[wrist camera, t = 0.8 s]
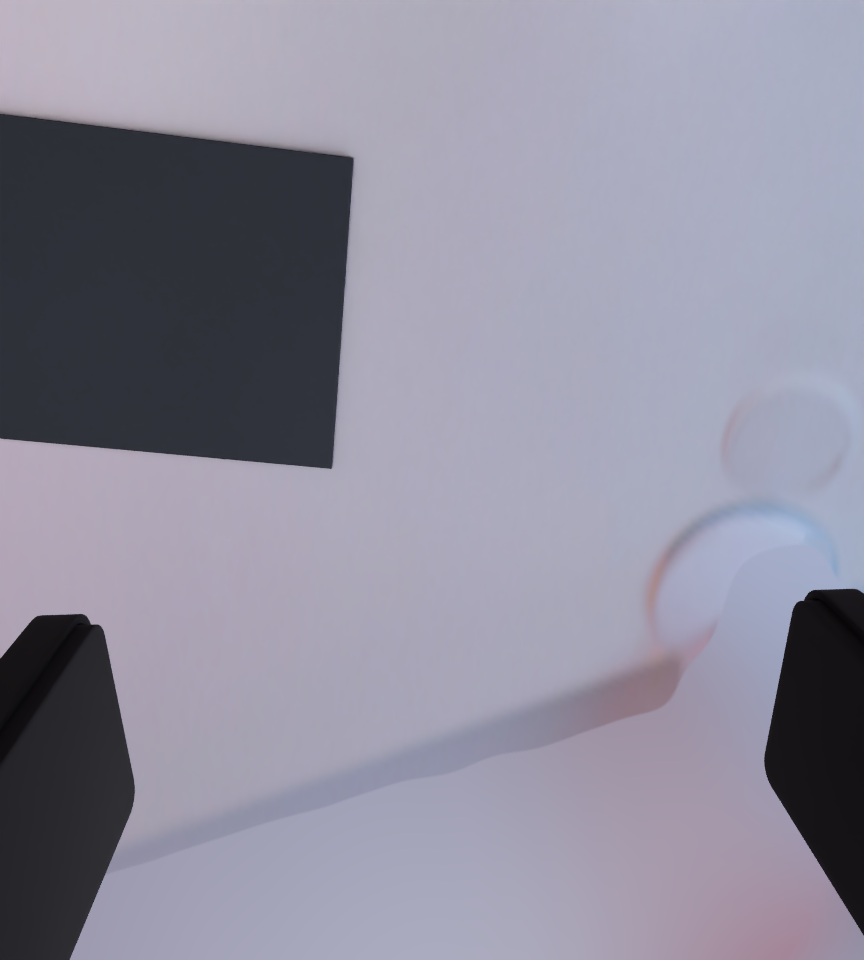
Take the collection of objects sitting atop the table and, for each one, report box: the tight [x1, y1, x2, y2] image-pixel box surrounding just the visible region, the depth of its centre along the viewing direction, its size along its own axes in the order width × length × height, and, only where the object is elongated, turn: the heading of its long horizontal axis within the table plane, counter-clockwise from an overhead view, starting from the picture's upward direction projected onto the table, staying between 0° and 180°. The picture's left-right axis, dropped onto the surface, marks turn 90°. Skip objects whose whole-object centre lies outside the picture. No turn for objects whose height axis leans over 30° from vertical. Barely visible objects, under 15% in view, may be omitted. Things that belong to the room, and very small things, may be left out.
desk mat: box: [0, 114, 353, 469], centre depth 43 cm, size 18×20×1 cm
